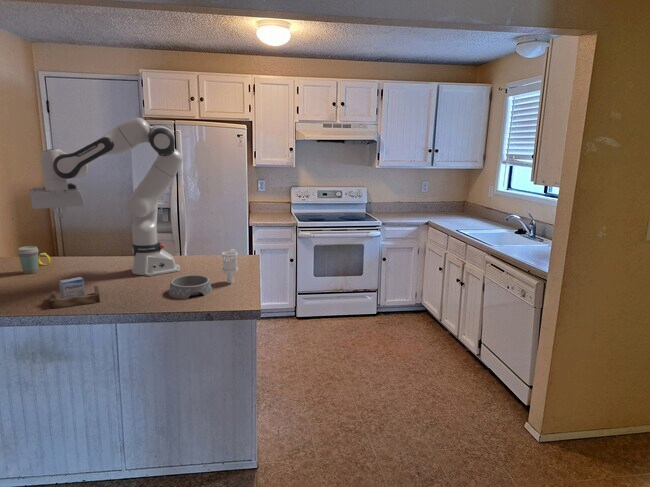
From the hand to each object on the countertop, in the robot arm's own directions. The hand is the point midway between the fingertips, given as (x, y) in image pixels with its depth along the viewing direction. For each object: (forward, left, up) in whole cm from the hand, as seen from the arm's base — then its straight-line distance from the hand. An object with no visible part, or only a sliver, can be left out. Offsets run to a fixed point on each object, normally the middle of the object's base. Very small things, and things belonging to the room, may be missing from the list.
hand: (60, 217), depth 199 cm
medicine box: (-3, +32, -29) cm, 43 cm away
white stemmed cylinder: (-66, +35, -29) cm, 81 cm away
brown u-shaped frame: (-3, +32, -29) cm, 43 cm away
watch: (+11, -30, -29) cm, 43 cm away
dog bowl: (-47, +40, -29) cm, 69 cm away
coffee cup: (+16, -18, -29) cm, 37 cm away
